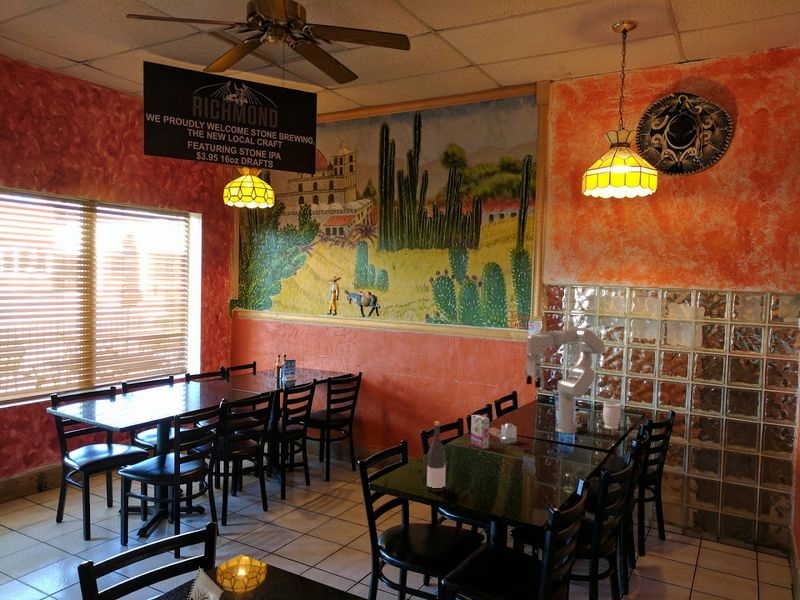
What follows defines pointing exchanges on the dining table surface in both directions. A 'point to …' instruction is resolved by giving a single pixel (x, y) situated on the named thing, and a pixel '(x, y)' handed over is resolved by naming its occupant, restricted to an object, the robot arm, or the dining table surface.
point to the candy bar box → (480, 431)
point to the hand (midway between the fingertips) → (533, 385)
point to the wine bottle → (436, 461)
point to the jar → (611, 415)
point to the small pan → (497, 433)
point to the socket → (508, 431)
